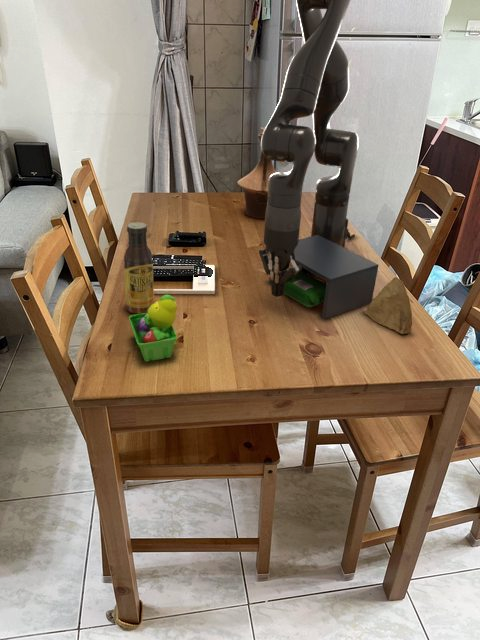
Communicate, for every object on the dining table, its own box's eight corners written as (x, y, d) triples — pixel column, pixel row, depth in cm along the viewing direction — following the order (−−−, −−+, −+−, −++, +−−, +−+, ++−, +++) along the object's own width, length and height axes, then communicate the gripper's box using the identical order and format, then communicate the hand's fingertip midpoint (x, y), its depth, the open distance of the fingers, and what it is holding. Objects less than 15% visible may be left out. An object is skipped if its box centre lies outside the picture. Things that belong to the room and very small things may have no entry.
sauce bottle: (131, 317, 112) (123, 232, 102) (123, 305, 117) (114, 222, 107) (159, 311, 115) (154, 228, 105) (150, 299, 120) (145, 218, 109)
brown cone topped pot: (288, 223, 166) (295, 134, 152) (236, 221, 166) (238, 132, 152) (284, 206, 181) (291, 123, 167) (237, 204, 181) (239, 121, 167)
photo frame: (214, 289, 122) (139, 289, 121) (214, 294, 123) (139, 293, 122) (214, 264, 135) (145, 263, 134) (214, 268, 135) (146, 267, 134)
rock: (427, 327, 108) (414, 299, 116) (411, 301, 104) (398, 274, 111) (380, 349, 112) (370, 321, 120) (363, 325, 108) (354, 297, 115)
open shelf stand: (313, 269, 137) (317, 234, 131) (371, 302, 122) (378, 264, 117) (268, 282, 129) (271, 246, 124) (324, 319, 114) (330, 279, 109)
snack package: (314, 316, 115) (316, 296, 113) (271, 288, 126) (273, 269, 123) (336, 308, 119) (339, 288, 116) (293, 282, 130) (295, 263, 127)
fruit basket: (129, 336, 106) (125, 287, 100) (171, 329, 109) (169, 282, 103) (139, 367, 97) (135, 316, 91) (185, 359, 100) (183, 309, 94)
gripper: (316, 230, 106) (308, 303, 115) (277, 211, 115) (272, 280, 124) (288, 237, 102) (282, 311, 111) (250, 217, 111) (247, 287, 120)
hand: (276, 295), depth 117 cm, fingers closed
